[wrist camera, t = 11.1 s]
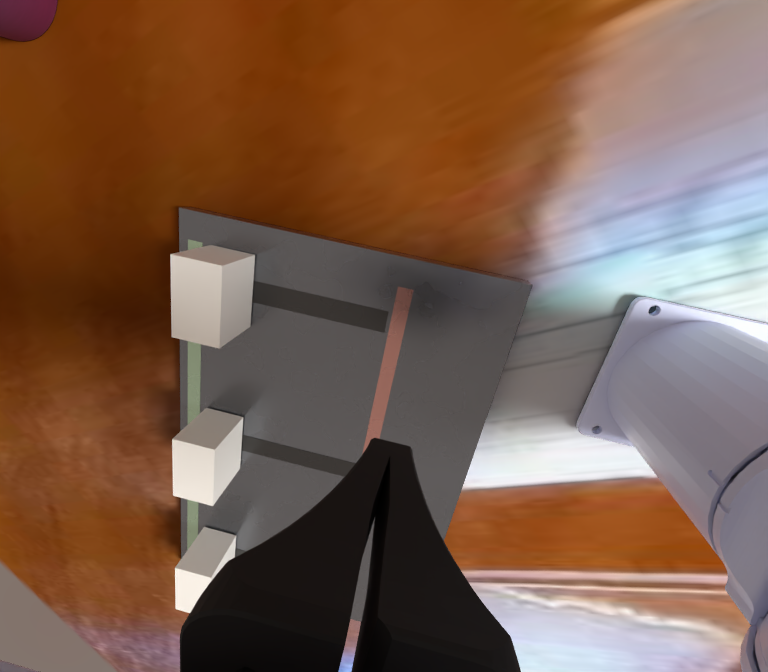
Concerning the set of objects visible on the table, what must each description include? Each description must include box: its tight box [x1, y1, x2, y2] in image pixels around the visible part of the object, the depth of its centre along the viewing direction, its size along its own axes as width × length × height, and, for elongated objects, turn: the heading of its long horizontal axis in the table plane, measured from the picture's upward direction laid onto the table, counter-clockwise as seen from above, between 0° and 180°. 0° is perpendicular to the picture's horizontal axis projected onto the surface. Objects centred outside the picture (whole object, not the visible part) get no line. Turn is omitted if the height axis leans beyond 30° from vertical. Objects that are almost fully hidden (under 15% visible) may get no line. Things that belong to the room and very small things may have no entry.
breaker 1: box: [170, 245, 255, 348], centre depth 19 cm, size 2×4×3 cm, turn 169°
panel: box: [179, 207, 532, 622], centre depth 24 cm, size 18×27×1 cm, turn 169°
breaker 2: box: [175, 527, 236, 613], centre depth 26 cm, size 2×4×3 cm, turn 169°
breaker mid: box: [172, 408, 243, 506], centre depth 23 cm, size 2×4×3 cm, turn 169°
